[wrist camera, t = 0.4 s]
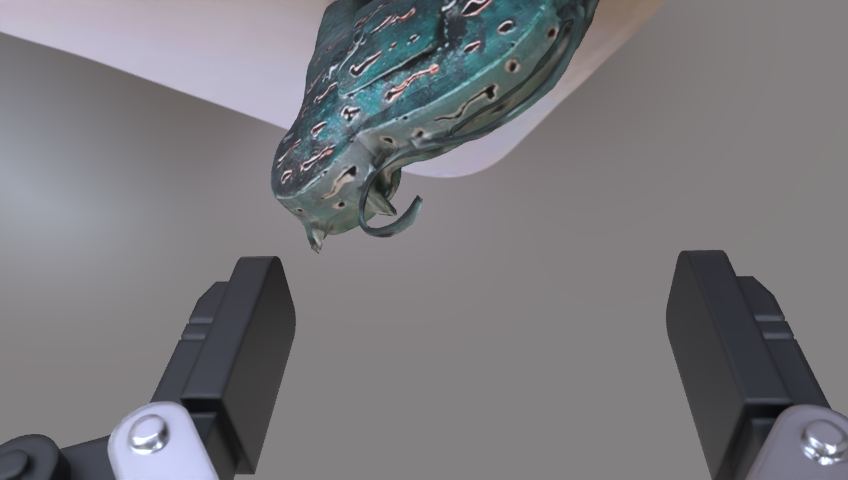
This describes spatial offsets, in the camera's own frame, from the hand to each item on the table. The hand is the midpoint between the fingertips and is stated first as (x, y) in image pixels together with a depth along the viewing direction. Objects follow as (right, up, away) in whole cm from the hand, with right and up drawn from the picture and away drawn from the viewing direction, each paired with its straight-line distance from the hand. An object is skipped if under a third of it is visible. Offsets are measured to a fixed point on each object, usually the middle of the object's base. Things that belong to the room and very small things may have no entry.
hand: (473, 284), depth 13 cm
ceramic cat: (-1, +19, +26) cm, 32 cm away
